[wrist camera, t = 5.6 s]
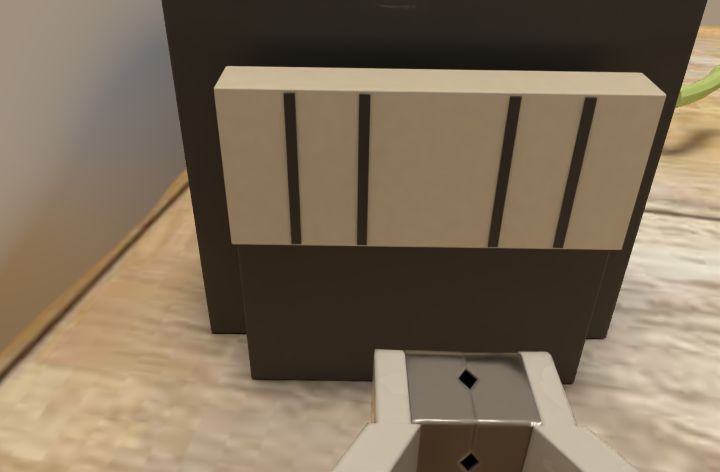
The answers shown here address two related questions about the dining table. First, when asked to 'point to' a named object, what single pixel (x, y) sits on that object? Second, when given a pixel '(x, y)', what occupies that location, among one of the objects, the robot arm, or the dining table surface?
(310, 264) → the toy piano
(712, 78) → the figurine
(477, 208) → the piano keyboard
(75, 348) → the dining table surface
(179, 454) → the dining table surface
